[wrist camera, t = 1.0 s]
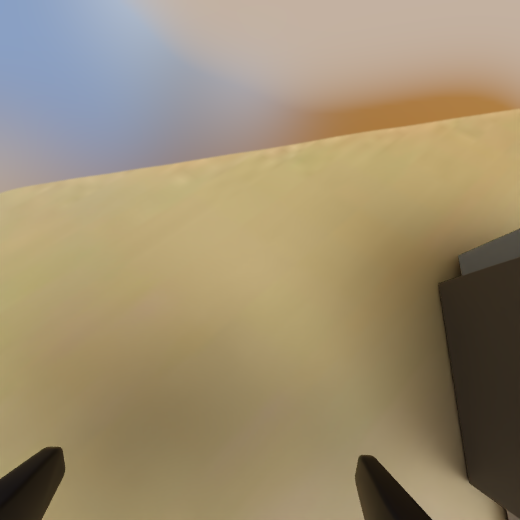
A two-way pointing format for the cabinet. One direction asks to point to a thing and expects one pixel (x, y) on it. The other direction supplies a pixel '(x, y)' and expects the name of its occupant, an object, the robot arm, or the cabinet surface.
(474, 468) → the grey cube with panel
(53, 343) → the cabinet surface
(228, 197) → the cabinet surface
